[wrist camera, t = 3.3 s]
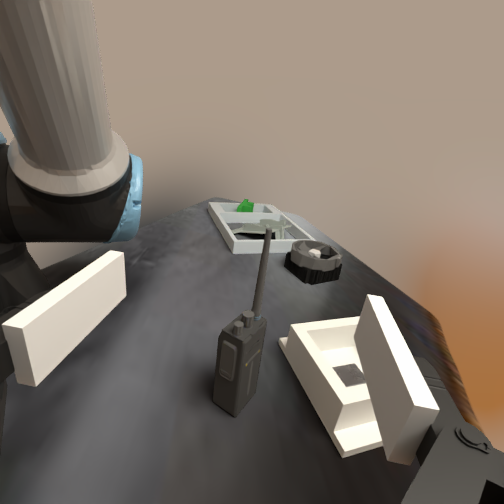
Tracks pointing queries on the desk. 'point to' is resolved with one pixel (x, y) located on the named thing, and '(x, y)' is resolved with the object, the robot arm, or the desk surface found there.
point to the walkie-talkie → (242, 349)
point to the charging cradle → (334, 381)
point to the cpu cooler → (313, 261)
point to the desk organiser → (229, 214)
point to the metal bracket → (261, 228)
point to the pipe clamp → (245, 206)
